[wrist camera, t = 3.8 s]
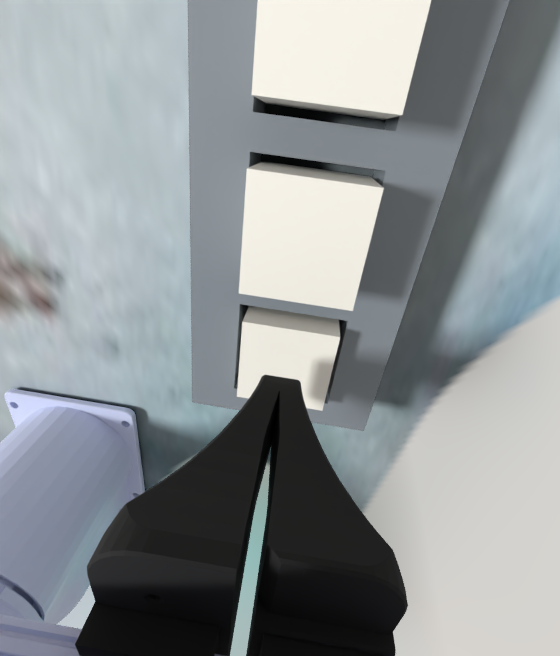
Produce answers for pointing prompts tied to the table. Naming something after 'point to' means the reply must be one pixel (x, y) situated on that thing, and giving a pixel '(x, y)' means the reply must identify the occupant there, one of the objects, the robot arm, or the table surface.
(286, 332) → the button
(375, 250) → the button board
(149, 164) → the table surface
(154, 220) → the table surface
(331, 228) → the middle button
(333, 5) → the button
